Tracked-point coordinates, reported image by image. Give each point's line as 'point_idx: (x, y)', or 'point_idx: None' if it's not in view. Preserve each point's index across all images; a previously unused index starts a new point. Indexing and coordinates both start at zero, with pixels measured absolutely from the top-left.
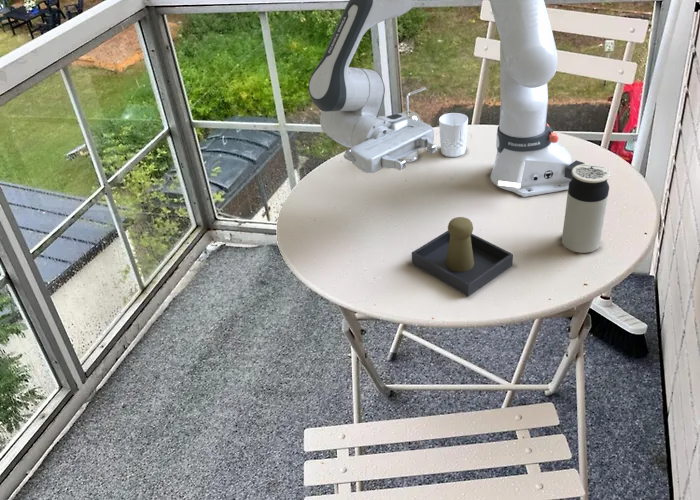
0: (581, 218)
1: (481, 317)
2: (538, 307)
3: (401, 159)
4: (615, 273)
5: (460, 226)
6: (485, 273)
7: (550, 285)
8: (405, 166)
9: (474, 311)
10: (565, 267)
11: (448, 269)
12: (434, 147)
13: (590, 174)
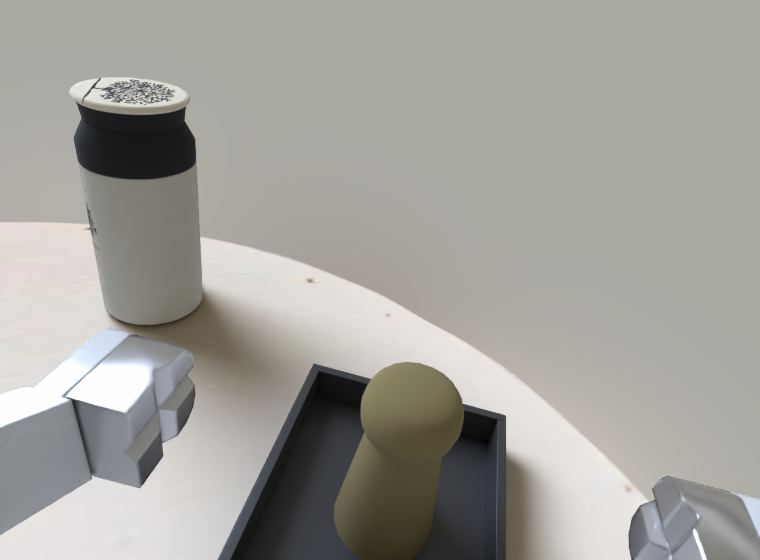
0: (198, 211)
1: (529, 397)
2: (423, 324)
3: (707, 527)
4: (253, 253)
5: (446, 380)
6: None
7: (344, 320)
8: (639, 515)
9: (525, 414)
10: (266, 309)
11: (435, 535)
12: (159, 343)
13: (149, 92)
